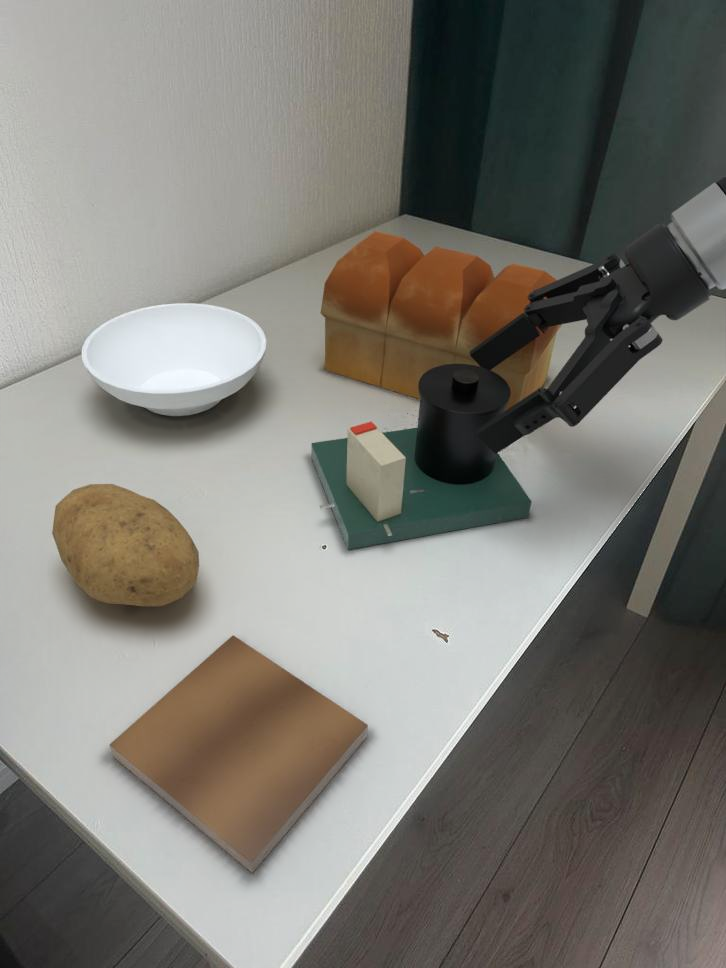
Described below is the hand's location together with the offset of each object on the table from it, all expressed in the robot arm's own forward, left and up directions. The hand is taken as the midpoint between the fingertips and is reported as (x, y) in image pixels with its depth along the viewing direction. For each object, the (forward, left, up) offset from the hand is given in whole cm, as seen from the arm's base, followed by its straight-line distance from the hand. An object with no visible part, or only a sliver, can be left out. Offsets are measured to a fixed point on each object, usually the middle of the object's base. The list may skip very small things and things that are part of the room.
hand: (481, 399), depth 73 cm
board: (-24, +27, -9) cm, 38 cm away
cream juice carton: (-3, +11, -7) cm, 14 cm away
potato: (-7, +33, -9) cm, 35 cm away
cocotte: (0, +2, -7) cm, 7 cm away
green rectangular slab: (0, +6, -9) cm, 11 cm away
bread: (+19, -4, -9) cm, 22 cm away
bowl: (+21, +26, -9) cm, 35 cm away
